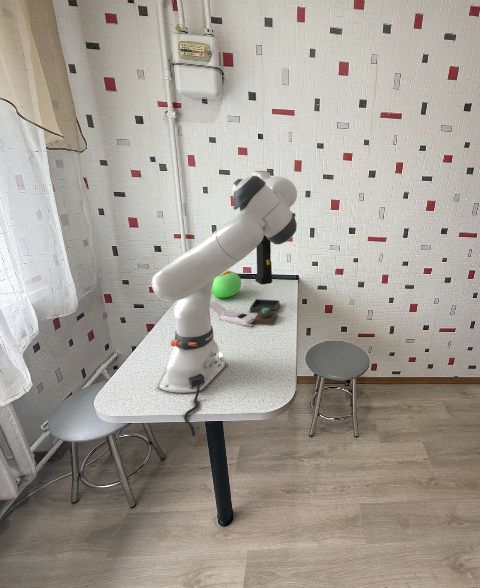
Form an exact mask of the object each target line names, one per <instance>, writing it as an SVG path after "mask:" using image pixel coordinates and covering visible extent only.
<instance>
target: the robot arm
mask: <svg viewBox="0 0 480 588" xmlns="http://www.w3.org/2000/svg"><path fill="white" fill-rule="evenodd" d="M231 193H232V197H233V203H234V206H233V211H236V210H238V209H239V213H238V214H237V216H235V217H234V218H233V219H231V220H229V221H227V222H226V223H224V224H223V225H221V226H220V227H219V228H218V229H216V230H215V231H213V232H212V233H211V234H210V235H208V236H207V237H206V238H204V239H203V240H202V241H200V242H199V243H198V244H196V245H195V246H193V247H192V248H190V249H188V250H187V251H186V252H184V253H182V254H181V255H179V256H177V257H176V258H175V259H174V260H172V261H171V262H169V263H168V264H166V265H165V266H164V267H162V268H160V270H159V271H156V273H155V274H154V275H153V276H152V278H151V288H152V291H153V292H154V294H155V295H156V297H158V299H160V300H162V301H164V302H167V303H174V302H176V304H175V306H174V308H173V318H174V326H175V332H174V339H171V340H170V342H169V343H170V344H169V345H170V346H171V347H173V349H172V352H171V354H170V357H169V359H168V363H167V364H166V370H165V374H164V375H163V377H162V379H161V380H160V383H159V388H160V389H162V391H166V392H169V393H170V392H171V393H178V394H180V393H181V394H186V393H187V394H188V393H196V394H195V395H194V399H193V403H194V406H193V407H192V408H190V409H189V410H187V411H186V412H185V413H184V416H183V420H184V422H185V423H186V424H187V426H188V427H189V429H190V431H191V432H190V433H191V436H192V437H195V436H196V433H195V428H194V426H193V424H192V423H191V421H189V419H188V415H189V414H190V413H192V412H193V411H195V410H196V409H197V408H198V406H199V403H198V402H197V400H198V397H199V394H200V391H202V390H203V389H205V387H206V386H208V385H209V384H210V383H211V381H213V379H214V378H215V377H216V376H217V375H218V374H219V373H220V372H221V371H222V370H223V369H224V368H225V366H226V364H225V362H224V361H223V360H221V359H222V357H223V353H221V352H220V348H219V345H218V343H217V342H216V341H215V339H214V337H215V335H214V334H215V333H214V329H213V326H212V319H211V308H210V303H211V298H212V294H211V293H212V287H213V282H214V279H215V278H216V277H217V276H219V275H220V274H222V273H223V272H225V271H226V270H227V271H229V269H230V268H232V267H233V266H235V265H236V264H238V263H240V261H242V260H243V259H244V258H246V257H247V256H248V255H250V254H251V253H252V252H253V251H254V250H255V249H257V248H256V247H257V246H258V245H259V244H260V242H261V241H262V240H263V237H264V235H265V236H266V237H267V239H268V240H269V241H271V244H274V245H282V244H284V243H286V242H288V241H289V240H291V239H292V237H293V236H294V235H295V233H296V232H297V225H298V224H297V220H296V213H295V212H292V210H291V207H292V206H293V205H295V203H296V201H297V197H298V191H297V187H296V186H295V184H294V183H293V182H292V181H291V180H290V179H288V178H286V177H284V176H280V175H279V176H277V175H276V176H272V175H271V173H270V172H269V171H265V170H255V171H253V172H252V173H251V176H247V177H245V178H244V179H243V178H238V179H236V180H235V181H234V182H233V183H232V188H231Z"/></svg>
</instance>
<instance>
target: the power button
mask: <svg viewBox="0 0 480 588" xmlns="http://www.w3.org/2000/svg"><path fill="white" fill-rule="evenodd" d="M262 313H263V314H267V313H269V308H262Z"/></svg>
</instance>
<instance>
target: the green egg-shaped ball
mask: <svg viewBox="0 0 480 588" xmlns="http://www.w3.org/2000/svg"><path fill="white" fill-rule="evenodd" d="M241 287H242V280H241V277H240V276H239V275H238V274H237V273H236V272H235V271H232V270H226V271H225V272H223V273H222V274H220V275H219V276H217V277H216V278H215V279H214V282H213V287H212V293H211V296H214V297H216V298H220V299H225V298H226V299H227V298H230V297H233V296H235V295H236V294H238V292H239V291H240V289H241Z"/></svg>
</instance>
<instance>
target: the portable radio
mask: <svg viewBox="0 0 480 588" xmlns="http://www.w3.org/2000/svg"><path fill="white" fill-rule="evenodd" d="M271 244H272V242H271V241H269V240H268V239H267V237H266V236H265V235H264V237H263V240H262V241H261V242H260V244H259V245H258V246H257V247H256V248H255V249H256V274H255V282H256V283H258V284H259V285H263V286H264V285H268V284H269V285H270V284H272V283H273V269H272V260H271V259H272V258H271V257H272V256H271V254H272V247H271V246H272V245H271Z"/></svg>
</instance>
